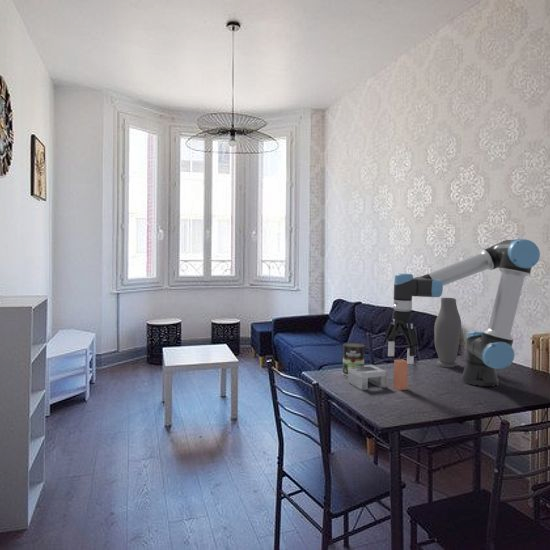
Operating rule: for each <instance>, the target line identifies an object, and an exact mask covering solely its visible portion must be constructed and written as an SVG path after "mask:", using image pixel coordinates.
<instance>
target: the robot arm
mask: <svg viewBox="0 0 550 550" xmlns="http://www.w3.org/2000/svg"><path fill="white" fill-rule="evenodd" d="M540 258H541V252H540V248H539V246H537V244H536V243H535V242H534V241H532V240H530V239H527V238H526V239H524V238H516V239H505V240H503V241H501V242H498V243H496V244H494V245H491V246H489V247H487V248H484V249H482V250H481V251H480V253H479V254H475V255H473V256H470V257H467V258H465V259H463V260H460V261H457V262H455V263H452V264H449V265H446V266H445V267H442V268H439V269H436V270H433V271H431V272H429V273H426V274H423V275H420V276H416V277H414V275H413V274H412V273H396V274H395V275H394V281H393V282H394V283H393V307H392V308H393V311H392V319H391V318H390V320H389V324H388V328H387V330H386V332H385V336H384V339H386V340H387V349H388V350H387V357H395V344H396V343H395V338H396V337H397V335H398V334H399V333H401V334H402V335H403V336H404V339H405V341H406V343H407V348H406V349H407V354H406V361H407V364H408V365H410V364H411V365H412V364H415V362H414V360H415V359H414V357H415V349H416V348H419V342H418V338H417V334H416V330H415V324H414V323H410V321H411V320H412V311H411V310H412V309H413V297H421V298H424V297H425V298H439V297H441V296H442V295H443V290H444V288H443V287H444V286H447V285H449V284H451V283H452V284H453V283H455V282H457V281H460V280H462V279H465V278H468V277H470V276H473V275H476V274H478V273H481V272H484V271H486V270H490V271H492V270H496V269H499V271H500V273H501V275H500V279H499V281H498V287H497V291H496V295H495V299H494V303H493V306H492V310H491V315H490V319H489V323H488V328H487V329H485V330H483V331H480V330H478V331H477V330H475V331H473V330H472V331H471V330H470V331H468V332H467V333H466V353H465V355H466V359H465V360H466V361H465V366H464V368H463V372H462V373H461V379H462V380H461V382H463V381H464V382H463V383H465V382H466V383H465V384H467V383H469V384H468V385H470V384H473V385H472V386H475V385H479V386H478V387H482V386H493V385H497V384H498V385H499V377H498V375H497V370H503V369H505V368H506V369H507V367H510V365H511V364H512V363H513V361H514V359H515V356H516V355H515V350H514V348H513V344H514V338H513V336H512V334H511V333H512V330H513V325H514V321H515V318H516V317H515V316H516V314H517V310H518V305H519V301H520V298H521V294H522V289H523V285H524V282H525V279H526V278H527V277H528V276H530V275H531V272H532V268H533V267H534V266H535V265H537V263H538V262H539V261H540ZM498 385H497V386H498ZM493 387H494V386H493Z"/></svg>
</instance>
